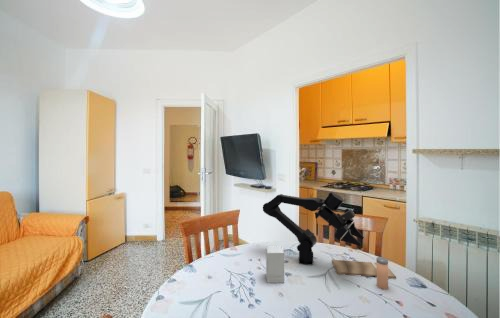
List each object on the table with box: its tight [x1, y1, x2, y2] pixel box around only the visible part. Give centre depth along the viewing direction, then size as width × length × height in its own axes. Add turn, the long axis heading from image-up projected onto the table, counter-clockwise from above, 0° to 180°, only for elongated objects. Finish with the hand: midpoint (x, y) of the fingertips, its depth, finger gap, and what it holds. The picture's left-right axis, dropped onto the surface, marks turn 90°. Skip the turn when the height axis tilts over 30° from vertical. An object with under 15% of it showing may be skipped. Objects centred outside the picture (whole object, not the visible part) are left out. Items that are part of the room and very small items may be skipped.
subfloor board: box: [331, 259, 397, 279], centre depth 102 cm, size 24×12×1 cm, turn 79°
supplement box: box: [265, 245, 285, 284], centre depth 95 cm, size 7×7×13 cm
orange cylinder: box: [375, 256, 389, 290], centre depth 88 cm, size 4×4×11 cm
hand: (361, 241), depth 96 cm, fingers open, 9 cm apart
